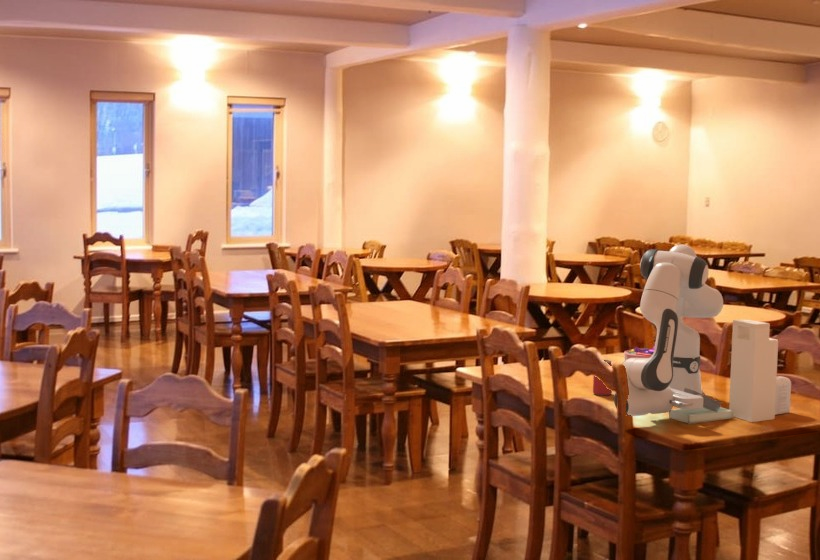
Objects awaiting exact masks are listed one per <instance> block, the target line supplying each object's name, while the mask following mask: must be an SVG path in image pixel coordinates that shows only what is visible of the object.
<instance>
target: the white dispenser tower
mask: <svg viewBox="0 0 820 560" xmlns="http://www.w3.org/2000/svg"><path fill="white" fill-rule="evenodd" d="M770 324H771V323H769V322H764V321H758V320H754V319H753V320H752V319H747V318H745V319H744V318H743V319H733V320H732V335H731V338H732V339H731V355H730V356H731V357H730V358H731V359H730V377H729V378H730V380H729V382H730V383H729V385H730V386H729V404H728V405H729V406H728V410H732V411H733V418H737V419H738V420H739V419H740V420H742V421H746V422H750V423H757V422H762V421H771V420H775V416H776V415H775V399H776V378H777V375H778V374H777V373H778V358H779V357H778V355H779V354H778V352H779V351H778V350H779V339H776V338H771V337H770V330H771V329H770V328H771V325H770Z"/></svg>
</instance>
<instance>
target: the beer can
mask: <svg viewBox="0 0 820 560" xmlns="http://www.w3.org/2000/svg"><path fill="white" fill-rule="evenodd" d="M603 360H604V361H605V362H607V363H608V364H609V365H610V366H612V367H613V365H612V360H608V359H603ZM592 380H593V382H592V386H593V387H592V392H593V394H594V395H595V396H602V397H603V396H610V395H612V393H613V390H612V391H611V390H609V389H607V388H606V386H605V385H604V384H603V382H602V381H601V380H599V379H598V378H597V377H595V376H594V375H593V379H592Z"/></svg>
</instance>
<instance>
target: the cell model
mask: <svg viewBox="0 0 820 560" xmlns="http://www.w3.org/2000/svg"><path fill="white" fill-rule="evenodd" d="M654 348H655V344H653V347H652V348H641V347H640V348H639V347H637V346H635V347H634V348H633V349H627V350H624V352H623V354H624V361H625V360H626V359H628V358H650V357H651V356H652V355H653V353H654Z"/></svg>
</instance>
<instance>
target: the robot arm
mask: <svg viewBox="0 0 820 560" xmlns="http://www.w3.org/2000/svg"><path fill="white" fill-rule="evenodd" d="M639 270H640V274H641V276H642V277H643V279H645V280H646V283H645V284H644V288H643V291H642V294H641V299H640V303H639V308H640V309H639V310H640V312H641V314H642V316H643V317H644V318H645V319H646V321H648V322H650V323H651V324H653V325H654V326H655V327H656V337H655V343H654V345H655V348H654V353H653V355H652V356H651V357H650V358H628V359H626V360H625V359H624V361H623V362H622V364H623V365H624V366H625V368H626V372H627V378H628V386H629V395H628V399H627V401H626V402H627V403H626V411H625V412H627V414H628V415H631V416H630V417H639V416H646V415H648V414H651V415H656V414H665V413H669V411H670V410H673V407H674V408H676V409H701V408H703V397H702V395H699V394H694V395H693V394H690V393H686V392H684V389H685V388H687V389H690V390H694V391H696V392H698V393H700V394H703V393H704V389H702V377H701V376H702V375H701V374H702V373H701V370H700V366H701V360H702V359H701V356H700V348H701V347H700V346H701V337H700V334H699V332H698V331H697V330H695V329H694V328H693V327H691V326H690V325H687V324H686V323H685V322H684V320H683V318H696V319H698V318H699V319H705V318H713V317H717V316H719V314H720V313H721V312H722V309H723V306H724V298H723V296H722V293H721V292H720V290H719V289H716V288H713V287H711V286H710V285H708V284H706V282H707V280H708V277H709V265H708V263H707V261H706V260H705V259H704V258H701V257H699V256H697V253H696V251H695V249H693V247H692V246H689V245H687V244H681V243H680V244H677V245H674V246H673V247H671V248H670V249H669V250H659V249H657V248H655V249H653V248H652V249H648V250H646V251H645V252H644V253H643V255H642V257H641V259H640V263H639ZM613 403H614V407H615V408H616V409H617V395H616V392H615V393H614V395H613Z"/></svg>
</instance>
